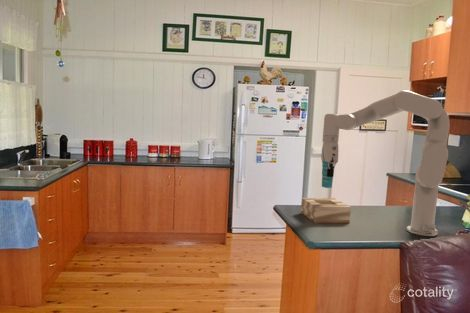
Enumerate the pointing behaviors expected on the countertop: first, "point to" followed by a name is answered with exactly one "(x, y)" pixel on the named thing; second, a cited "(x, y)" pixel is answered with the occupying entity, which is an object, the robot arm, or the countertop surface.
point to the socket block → (325, 210)
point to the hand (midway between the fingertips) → (327, 175)
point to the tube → (326, 180)
